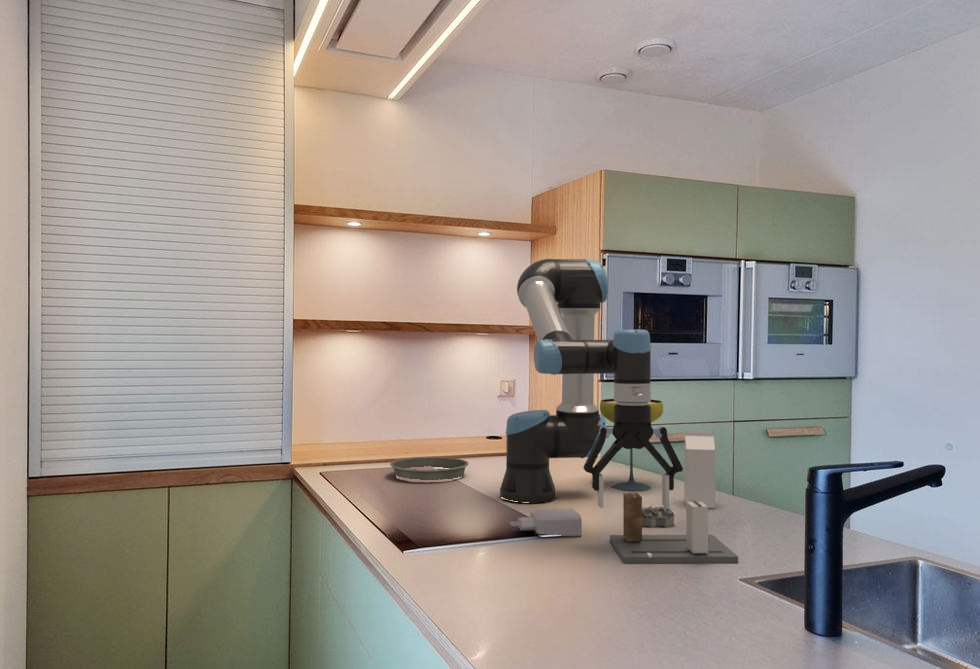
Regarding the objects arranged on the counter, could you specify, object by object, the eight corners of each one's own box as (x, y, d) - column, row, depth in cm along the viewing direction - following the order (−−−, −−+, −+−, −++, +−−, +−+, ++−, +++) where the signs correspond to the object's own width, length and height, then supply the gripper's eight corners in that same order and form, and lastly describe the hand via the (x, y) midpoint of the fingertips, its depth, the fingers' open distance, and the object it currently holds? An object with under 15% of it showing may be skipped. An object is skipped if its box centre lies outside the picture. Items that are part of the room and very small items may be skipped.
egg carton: (629, 528, 159) (629, 510, 159) (624, 520, 167) (624, 503, 167) (676, 528, 159) (676, 510, 159) (669, 520, 166) (669, 502, 166)
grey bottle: (506, 529, 158) (570, 526, 161) (514, 541, 149) (582, 537, 151) (506, 508, 158) (570, 506, 161) (514, 518, 149) (581, 516, 151)
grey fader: (692, 553, 135) (692, 505, 135) (686, 546, 139) (686, 500, 139) (708, 553, 135) (707, 505, 135) (701, 546, 139) (701, 500, 139)
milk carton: (715, 509, 176) (715, 433, 176) (686, 507, 178) (686, 433, 178) (712, 502, 183) (712, 430, 183) (684, 501, 184) (684, 429, 185)
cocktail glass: (631, 478, 215) (631, 397, 215) (676, 488, 200) (676, 401, 200) (587, 485, 205) (587, 400, 205) (631, 496, 190) (631, 405, 190)
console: (624, 563, 133) (624, 555, 133) (609, 540, 149) (609, 533, 149) (738, 563, 133) (738, 555, 133) (712, 540, 149) (712, 532, 149)
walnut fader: (627, 541, 143) (627, 496, 143) (623, 535, 147) (623, 491, 147) (642, 541, 143) (641, 496, 143) (637, 535, 147) (637, 491, 147)
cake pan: (483, 479, 215) (483, 464, 215) (413, 488, 202) (413, 473, 202) (443, 467, 236) (443, 453, 236) (377, 475, 222) (377, 460, 222)
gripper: (574, 405, 141) (575, 510, 140) (697, 404, 141) (698, 509, 141) (570, 402, 148) (570, 502, 148) (686, 402, 149) (687, 501, 148)
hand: (633, 506), depth 144 cm, fingers open, 13 cm apart
